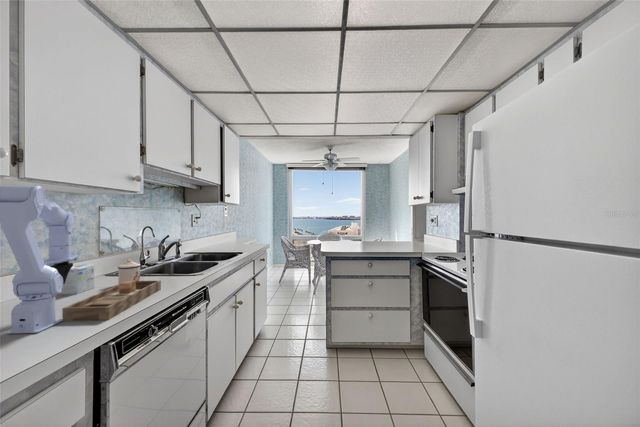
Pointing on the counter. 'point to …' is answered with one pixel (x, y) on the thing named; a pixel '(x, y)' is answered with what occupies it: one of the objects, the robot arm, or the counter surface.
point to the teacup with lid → (129, 272)
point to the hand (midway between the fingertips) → (60, 284)
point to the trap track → (109, 302)
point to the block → (127, 287)
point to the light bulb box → (79, 279)
